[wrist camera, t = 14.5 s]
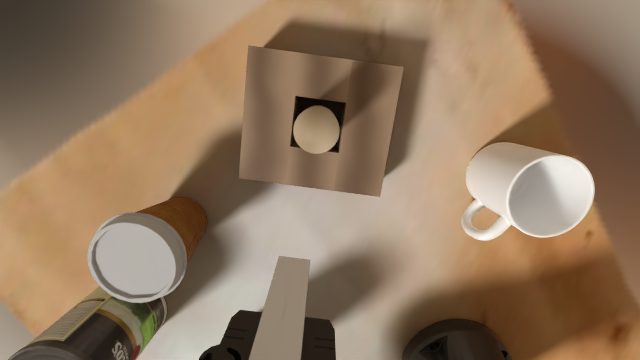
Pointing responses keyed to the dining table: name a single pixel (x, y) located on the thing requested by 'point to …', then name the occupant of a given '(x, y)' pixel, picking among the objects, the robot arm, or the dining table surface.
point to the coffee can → (98, 330)
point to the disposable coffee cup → (146, 249)
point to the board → (281, 113)
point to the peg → (316, 129)
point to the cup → (527, 190)
